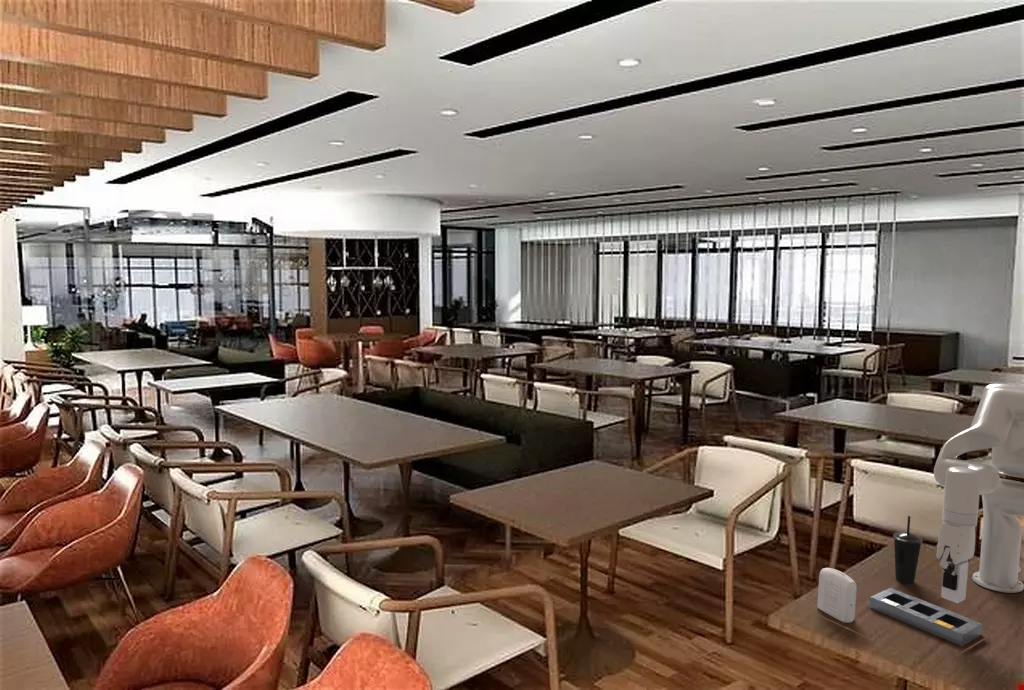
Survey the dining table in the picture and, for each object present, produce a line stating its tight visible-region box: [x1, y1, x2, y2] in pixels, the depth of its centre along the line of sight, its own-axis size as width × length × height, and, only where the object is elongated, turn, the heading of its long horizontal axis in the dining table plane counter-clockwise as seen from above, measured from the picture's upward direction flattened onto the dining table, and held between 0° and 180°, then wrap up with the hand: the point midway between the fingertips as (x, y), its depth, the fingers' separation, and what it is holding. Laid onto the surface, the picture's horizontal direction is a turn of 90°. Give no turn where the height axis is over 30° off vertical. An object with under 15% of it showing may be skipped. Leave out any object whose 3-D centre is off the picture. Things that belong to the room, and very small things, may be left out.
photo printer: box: [816, 567, 858, 623], centre depth 196 cm, size 10×4×12 cm, turn 25°
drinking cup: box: [892, 515, 923, 585], centre depth 216 cm, size 8×8×20 cm
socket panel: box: [869, 587, 983, 647], centre depth 193 cm, size 10×24×4 cm, turn 33°
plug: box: [940, 559, 969, 604], centre depth 185 cm, size 4×4×11 cm
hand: (954, 585), depth 186 cm, fingers closed on plug, 4 cm apart
